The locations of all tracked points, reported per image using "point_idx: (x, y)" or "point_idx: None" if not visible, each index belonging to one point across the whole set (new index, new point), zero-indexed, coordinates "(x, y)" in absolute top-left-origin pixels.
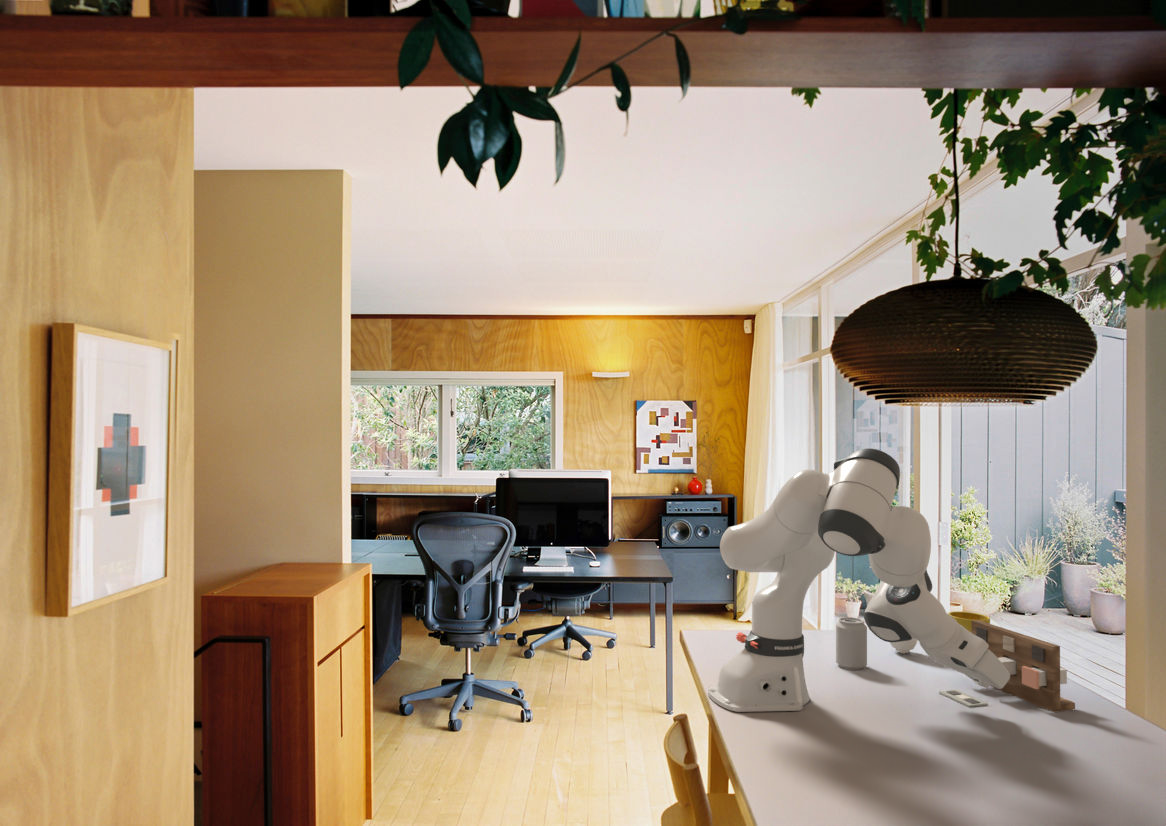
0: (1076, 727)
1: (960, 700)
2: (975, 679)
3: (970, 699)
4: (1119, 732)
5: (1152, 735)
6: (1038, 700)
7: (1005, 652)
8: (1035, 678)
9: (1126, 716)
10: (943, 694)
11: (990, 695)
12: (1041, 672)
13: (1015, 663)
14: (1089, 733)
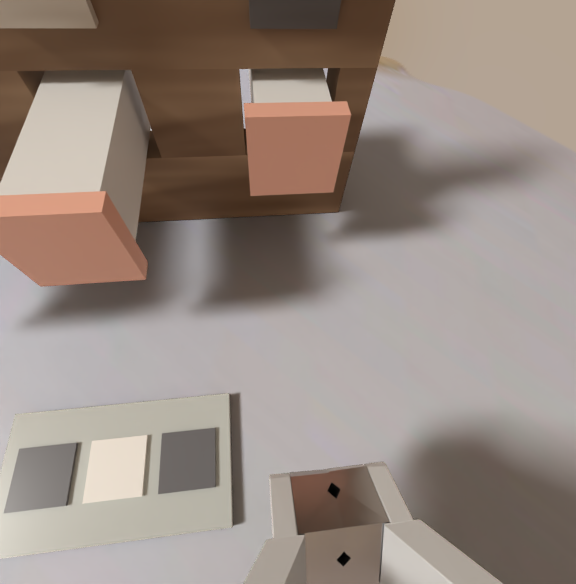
0: (471, 238)
1: (152, 522)
2: (313, 581)
3: (166, 454)
4: (496, 165)
5: (505, 118)
6: (280, 200)
7: (29, 49)
8: (339, 151)
9: (378, 85)
10: (20, 554)
11: (131, 296)
12: (329, 96)
13: (127, 95)
14: (520, 238)
